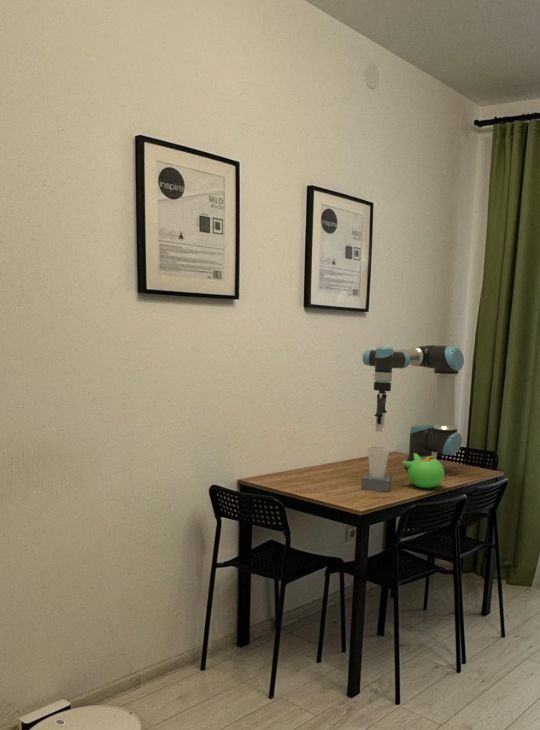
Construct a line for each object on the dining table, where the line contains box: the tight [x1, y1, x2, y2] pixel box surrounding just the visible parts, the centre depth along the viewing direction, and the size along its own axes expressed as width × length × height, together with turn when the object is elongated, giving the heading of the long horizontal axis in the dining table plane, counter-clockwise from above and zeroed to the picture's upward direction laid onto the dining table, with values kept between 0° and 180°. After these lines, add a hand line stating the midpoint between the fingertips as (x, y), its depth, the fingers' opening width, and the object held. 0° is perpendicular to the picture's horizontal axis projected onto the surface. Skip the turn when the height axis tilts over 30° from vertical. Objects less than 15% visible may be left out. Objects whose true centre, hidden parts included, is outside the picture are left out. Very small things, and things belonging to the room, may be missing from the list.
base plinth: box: [360, 472, 392, 493], centre depth 279 cm, size 12×12×5 cm
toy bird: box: [401, 453, 445, 489], centre depth 284 cm, size 18×17×15 cm
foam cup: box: [367, 445, 390, 478], centre depth 278 cm, size 10×9×13 cm
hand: (379, 429), depth 278 cm, fingers open, 13 cm apart
